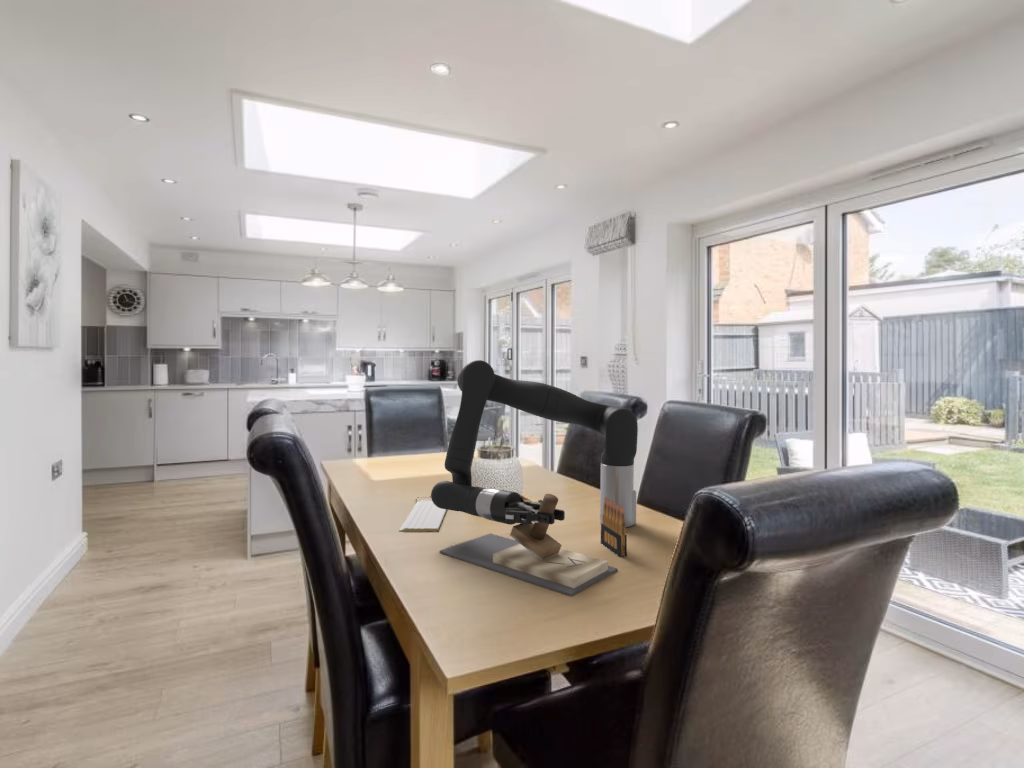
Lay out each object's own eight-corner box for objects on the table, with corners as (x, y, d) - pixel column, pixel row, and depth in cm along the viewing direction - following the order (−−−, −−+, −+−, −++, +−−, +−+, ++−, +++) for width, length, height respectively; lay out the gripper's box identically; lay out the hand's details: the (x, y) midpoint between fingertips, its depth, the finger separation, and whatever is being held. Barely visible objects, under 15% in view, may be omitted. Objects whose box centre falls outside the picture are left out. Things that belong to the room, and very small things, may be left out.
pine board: (492, 562, 126) (492, 553, 126) (528, 548, 136) (528, 540, 136) (574, 588, 112) (574, 578, 112) (607, 570, 122) (607, 561, 122)
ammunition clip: (600, 543, 142) (600, 496, 142) (607, 542, 143) (607, 495, 142) (619, 557, 132) (620, 506, 132) (626, 556, 133) (627, 506, 132)
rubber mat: (439, 552, 134) (439, 550, 134) (490, 535, 148) (490, 533, 148) (571, 596, 110) (571, 593, 110) (617, 570, 123) (617, 568, 123)
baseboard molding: (393, 533, 151) (438, 534, 151) (393, 523, 151) (438, 523, 151) (413, 504, 182) (449, 504, 182) (413, 495, 182) (450, 495, 182)
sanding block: (509, 535, 128) (526, 488, 124) (526, 529, 132) (542, 483, 129) (542, 561, 122) (560, 512, 118) (558, 554, 126) (576, 507, 123)
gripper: (478, 495, 128) (539, 506, 117) (517, 485, 139) (576, 494, 128) (479, 527, 128) (539, 542, 117) (518, 515, 139) (576, 527, 128)
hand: (558, 517), depth 122 cm, fingers closed on sanding block, 3 cm apart
